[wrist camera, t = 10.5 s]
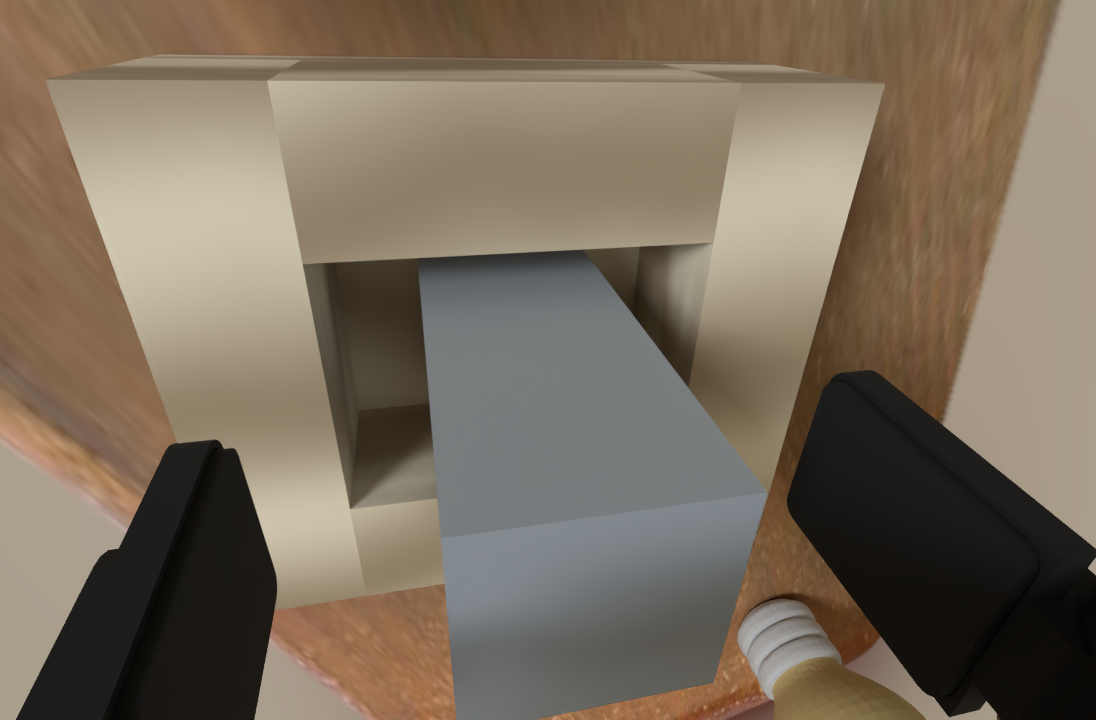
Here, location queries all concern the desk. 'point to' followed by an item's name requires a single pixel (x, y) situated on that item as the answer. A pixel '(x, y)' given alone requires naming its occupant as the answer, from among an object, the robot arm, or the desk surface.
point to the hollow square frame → (446, 252)
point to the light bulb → (810, 669)
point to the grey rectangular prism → (573, 492)
